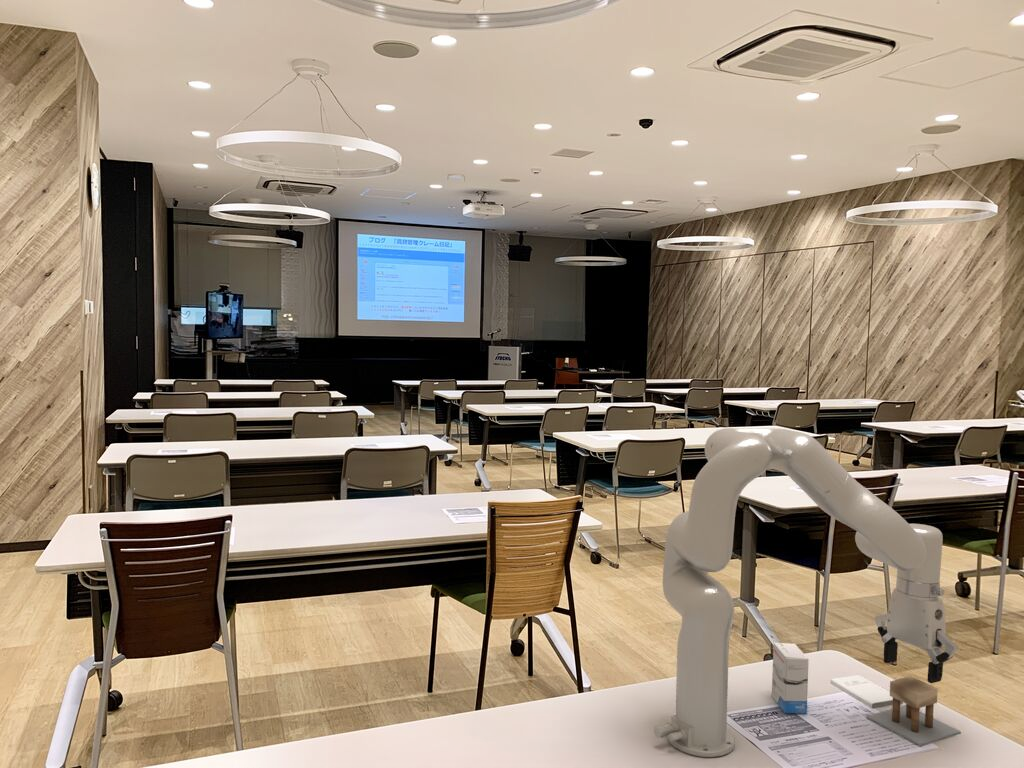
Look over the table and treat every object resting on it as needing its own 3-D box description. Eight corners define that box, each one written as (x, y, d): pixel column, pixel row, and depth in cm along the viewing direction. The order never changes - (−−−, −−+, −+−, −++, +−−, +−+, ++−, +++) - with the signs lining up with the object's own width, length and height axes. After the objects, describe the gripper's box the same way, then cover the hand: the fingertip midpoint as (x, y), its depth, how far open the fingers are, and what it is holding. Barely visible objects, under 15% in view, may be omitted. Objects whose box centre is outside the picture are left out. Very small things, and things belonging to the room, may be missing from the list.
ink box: (808, 714, 155) (810, 658, 155) (783, 714, 155) (785, 658, 155) (793, 695, 164) (795, 642, 163) (770, 695, 164) (772, 641, 163)
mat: (920, 746, 143) (920, 744, 143) (866, 718, 154) (866, 716, 154) (960, 733, 148) (960, 731, 148) (905, 706, 159) (905, 704, 159)
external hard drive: (871, 710, 158) (830, 685, 170) (902, 705, 161) (859, 681, 173) (871, 703, 158) (830, 678, 170) (902, 698, 161) (859, 674, 173)
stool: (935, 727, 150) (937, 688, 149) (915, 733, 147) (917, 693, 147) (908, 714, 155) (910, 676, 155) (888, 719, 153) (890, 681, 152)
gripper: (972, 599, 144) (965, 687, 144) (891, 573, 159) (886, 652, 160) (946, 603, 140) (940, 693, 141) (867, 576, 156) (861, 657, 157)
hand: (911, 671), depth 151 cm, fingers open, 9 cm apart
